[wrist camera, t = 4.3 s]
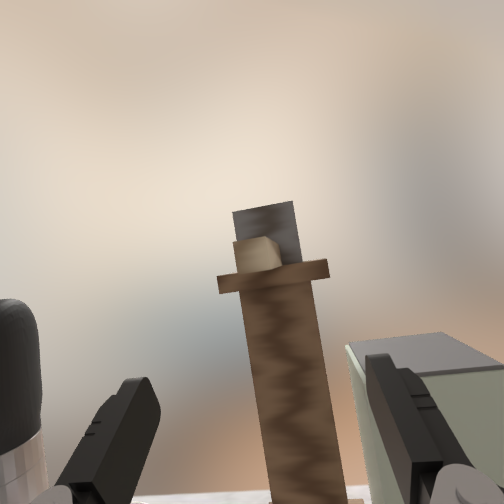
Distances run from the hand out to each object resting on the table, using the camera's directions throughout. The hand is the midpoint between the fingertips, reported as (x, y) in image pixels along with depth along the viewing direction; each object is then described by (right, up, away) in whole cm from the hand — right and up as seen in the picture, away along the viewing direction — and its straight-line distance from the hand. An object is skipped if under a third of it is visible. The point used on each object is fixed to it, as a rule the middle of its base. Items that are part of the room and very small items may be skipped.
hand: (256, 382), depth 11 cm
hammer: (+1, +3, +18) cm, 19 cm away
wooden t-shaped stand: (+8, -28, +24) cm, 38 cm away
